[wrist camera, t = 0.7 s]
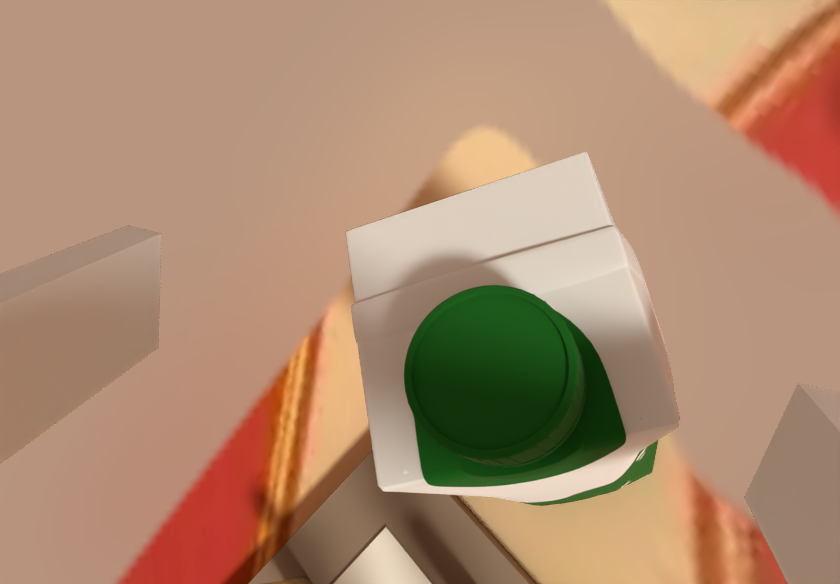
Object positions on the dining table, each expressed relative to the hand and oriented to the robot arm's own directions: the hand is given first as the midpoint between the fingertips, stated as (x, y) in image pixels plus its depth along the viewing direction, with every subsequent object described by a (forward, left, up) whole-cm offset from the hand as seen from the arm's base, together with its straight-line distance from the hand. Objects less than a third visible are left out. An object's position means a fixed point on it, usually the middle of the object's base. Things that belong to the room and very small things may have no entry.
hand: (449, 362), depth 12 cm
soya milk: (-2, -2, -21) cm, 22 cm away
